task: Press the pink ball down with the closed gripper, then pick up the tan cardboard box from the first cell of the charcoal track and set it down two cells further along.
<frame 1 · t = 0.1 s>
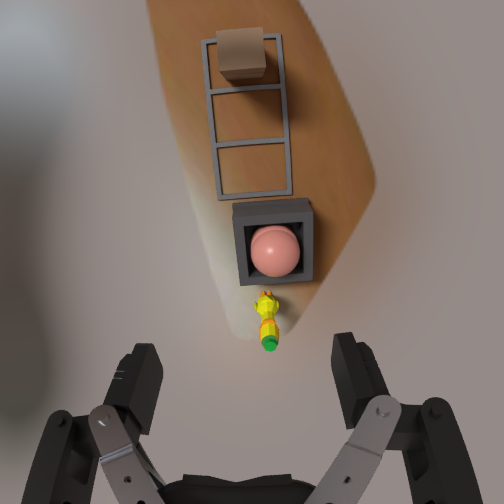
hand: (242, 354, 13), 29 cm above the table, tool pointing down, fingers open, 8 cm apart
toy figure: (266, 296, 47), on the table
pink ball: (275, 252, 37), point 5 cm above the table, slide at 0.0 cm
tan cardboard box: (243, 62, 31), on the table
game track: (247, 115, 34), on the table
dome housing: (272, 234, 42), on the table
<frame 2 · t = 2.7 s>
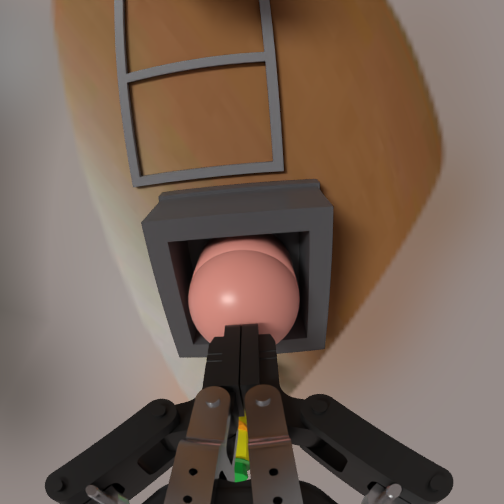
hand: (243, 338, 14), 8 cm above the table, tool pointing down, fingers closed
toy figure: (239, 357, 26), on the table
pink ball: (243, 299, 16), point 5 cm above the table, slide at 0.2 cm, touching gripper
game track: (189, 16, 14), on the table
dome housing: (245, 254, 21), on the table
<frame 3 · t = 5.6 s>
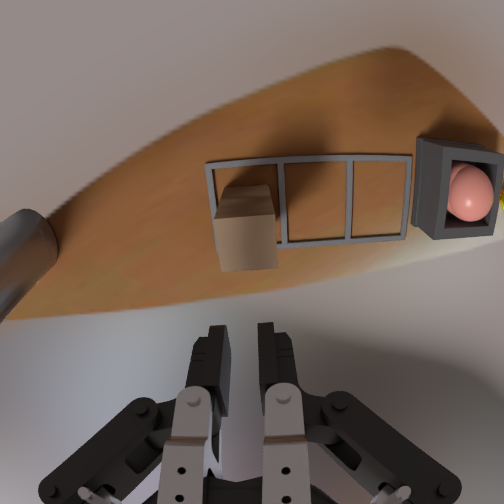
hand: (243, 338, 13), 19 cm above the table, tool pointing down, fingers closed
toy figure: (499, 195, 29), on the table
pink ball: (469, 193, 25), point 4 cm above the table, slide at 1.2 cm
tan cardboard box: (248, 206, 30), on the table
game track: (316, 202, 30), on the table
dome housing: (448, 182, 29), on the table
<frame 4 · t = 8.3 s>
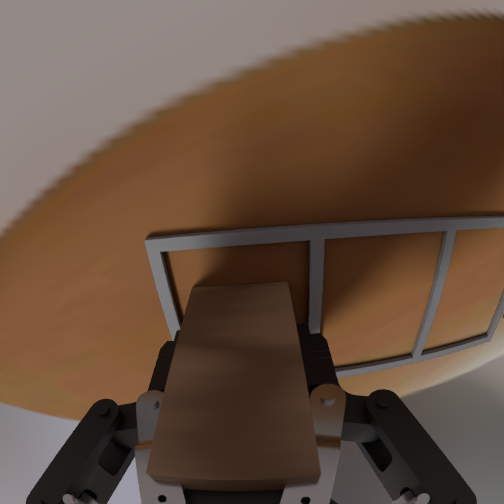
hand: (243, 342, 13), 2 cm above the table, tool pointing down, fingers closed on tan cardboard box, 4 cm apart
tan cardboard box: (243, 321, 15), on the table, touching gripper
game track: (378, 308, 14), on the table
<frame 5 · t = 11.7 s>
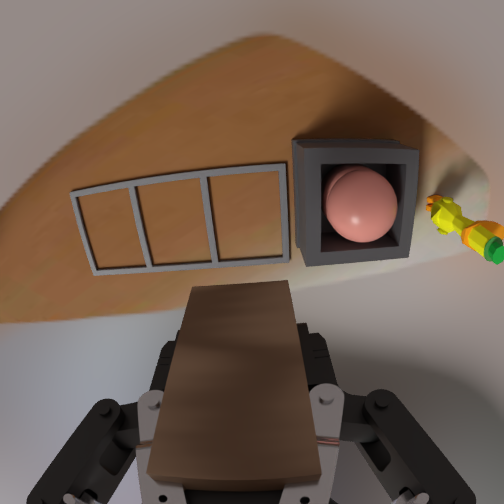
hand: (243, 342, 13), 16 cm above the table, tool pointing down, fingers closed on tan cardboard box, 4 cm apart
toy figure: (434, 203, 27), on the table
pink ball: (361, 205, 23), point 4 cm above the table, slide at 1.2 cm
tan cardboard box: (244, 320, 15), point 15 cm above the table, touching gripper
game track: (173, 224, 28), on the table
dome housing: (346, 191, 27), on the table
when the fingers open (3 cm above the table, at t = 14.8 s): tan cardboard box drops 1 cm, on the table.
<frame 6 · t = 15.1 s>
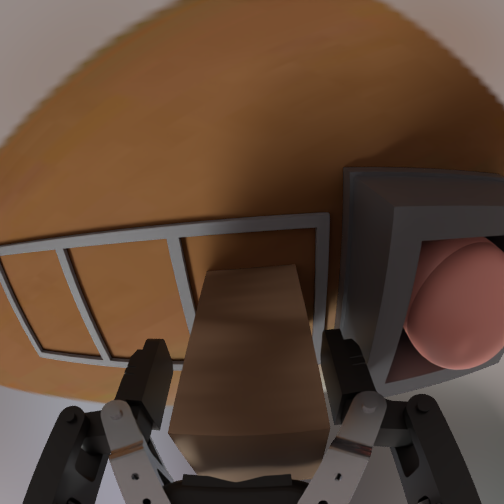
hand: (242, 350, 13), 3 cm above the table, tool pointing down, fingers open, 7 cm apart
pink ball: (462, 302, 11), point 4 cm above the table, slide at 1.2 cm
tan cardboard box: (254, 303, 16), on the table
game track: (132, 309, 16), on the table
dome housing: (423, 258, 14), on the table
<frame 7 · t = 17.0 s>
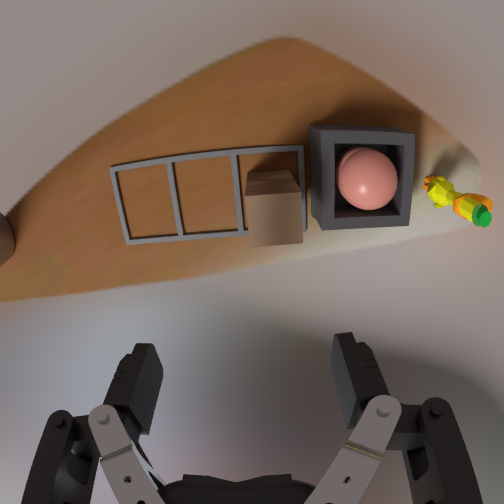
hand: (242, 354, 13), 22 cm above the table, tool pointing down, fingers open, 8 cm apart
toy figure: (430, 183, 31), on the table
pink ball: (367, 179, 27), point 4 cm above the table, slide at 1.2 cm
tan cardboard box: (269, 190, 32), on the table
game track: (205, 196, 32), on the table
dome housing: (354, 170, 31), on the table
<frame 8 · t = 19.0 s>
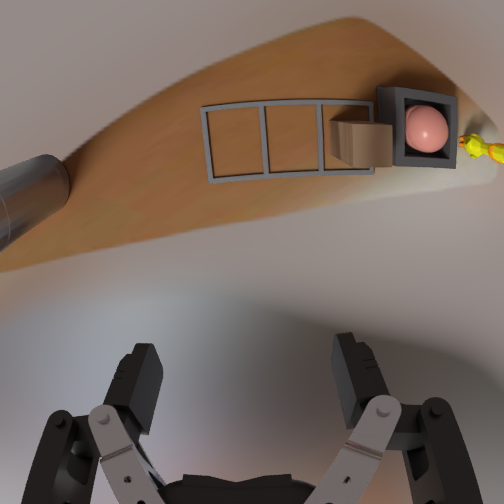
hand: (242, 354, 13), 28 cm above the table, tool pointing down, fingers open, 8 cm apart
toy figure: (463, 142, 34), on the table
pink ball: (425, 128, 30), point 4 cm above the table, slide at 1.2 cm
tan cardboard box: (346, 137, 35), on the table
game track: (292, 138, 35), on the table
dome housing: (409, 125, 33), on the table
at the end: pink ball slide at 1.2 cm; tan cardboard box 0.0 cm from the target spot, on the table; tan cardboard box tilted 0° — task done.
